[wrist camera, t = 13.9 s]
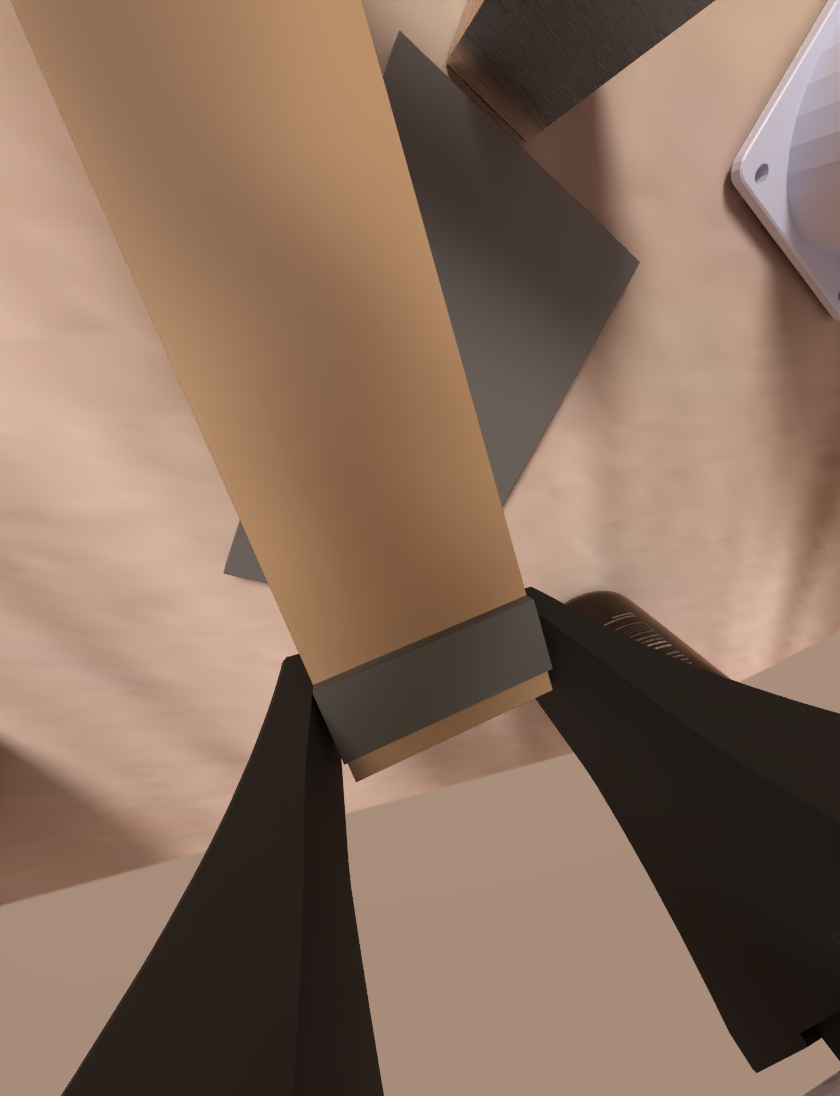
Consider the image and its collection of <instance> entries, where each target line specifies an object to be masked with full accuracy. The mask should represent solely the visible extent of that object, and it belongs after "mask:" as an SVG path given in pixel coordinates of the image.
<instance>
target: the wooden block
mask: <svg viewBox="0 0 840 1096" xmlns="http://www.w3.org/2000/svg"><path fill="white" fill-rule="evenodd" d="M10 1H11V3H12V5H13V8H14V10H15V12H16V14H17V17H18V19H19V21H20V23H21V26H22V28H23V30H24V32H25V35H26V37H27V39H28V41H29V44H30V46H31V48H32V50H33V53H34V55H35V57H36V60H37V62H38V64H39V66H40V69H41V71H42V73H43V75H44V78H45V80H46V82H47V84H48V87H49V89H50V91H51V93H52V96H53V98H54V100H55V102H56V105H57V107H58V109H59V112H60V114H61V116H62V118H63V121H64V123H65V125H66V127H67V130H68V132H69V134H70V136H71V139H72V141H73V143H74V145H75V148H76V150H77V152H78V154H79V157H80V159H81V161H82V164H83V166H84V168H85V170H86V173H87V175H88V177H89V179H90V182H91V184H92V186H93V188H94V191H95V193H96V195H97V197H98V200H99V202H100V204H101V206H102V209H103V211H104V213H105V216H106V218H107V220H108V222H109V225H110V227H111V229H112V231H113V234H114V236H115V238H116V240H117V243H118V245H119V247H120V249H121V252H122V254H123V256H124V258H125V261H126V263H127V265H128V268H129V270H130V272H131V274H132V277H133V279H134V281H135V283H136V286H137V288H138V290H139V292H140V295H141V297H142V299H143V301H144V304H145V306H146V308H147V310H148V313H149V315H150V317H151V320H152V322H153V324H154V326H155V329H156V331H157V333H158V335H159V338H160V340H161V342H162V344H163V347H164V349H165V351H166V353H167V356H168V358H169V360H170V362H171V365H172V367H173V369H174V372H175V374H176V376H177V378H178V381H179V383H180V385H181V387H182V390H183V392H184V394H185V396H186V399H187V401H188V403H189V405H190V408H191V410H192V412H193V414H194V417H195V419H196V421H197V424H198V426H199V428H200V430H201V433H202V435H203V437H204V439H205V442H206V444H207V446H208V448H209V451H210V453H211V455H212V457H213V460H214V462H215V464H216V466H217V469H218V471H219V473H220V476H221V478H222V480H223V482H224V485H225V487H226V489H227V491H228V494H229V496H230V498H231V500H232V503H233V505H234V507H235V509H236V512H237V514H238V516H239V518H240V521H241V523H242V525H243V528H244V530H245V532H246V534H247V537H248V539H249V541H250V543H251V546H252V548H253V550H254V552H255V555H256V557H257V559H258V561H259V564H260V566H261V568H262V570H263V573H264V575H265V577H266V580H267V582H268V584H269V586H270V589H271V591H272V593H273V595H274V598H275V600H276V602H277V604H278V607H279V609H280V611H281V613H282V616H283V618H284V620H285V622H286V625H287V627H288V629H289V632H290V634H291V636H292V638H293V641H294V643H295V645H296V647H297V650H298V652H299V654H300V656H301V659H302V661H303V663H304V665H305V668H306V670H307V672H308V674H309V677H310V679H311V681H312V684H313V695H314V698H315V700H316V702H317V704H318V706H319V709H320V711H321V713H322V715H323V718H324V720H325V722H326V724H327V727H328V729H329V731H330V733H331V736H332V738H333V740H334V742H335V745H336V747H337V749H338V751H339V754H340V756H341V758H342V760H343V763H344V765H345V764H347V763H348V765H349V767H350V769H351V772H352V774H353V776H354V778H355V781H356V782H358V781H360V780H362V779H364V778H366V777H368V776H370V775H373V774H375V773H377V772H379V771H381V770H383V769H385V768H387V767H390V766H392V765H394V764H396V763H398V762H400V761H402V760H404V759H407V758H409V757H411V756H413V755H415V754H417V753H419V752H421V751H424V750H426V749H428V748H430V747H432V746H434V745H436V744H438V743H441V742H443V741H445V740H447V739H449V738H451V737H453V736H456V735H458V734H460V733H462V732H464V731H466V730H468V729H470V728H473V727H475V726H477V725H479V724H481V723H483V722H485V721H487V720H490V719H492V718H494V717H496V716H498V715H500V714H502V713H504V712H507V711H509V710H511V709H513V708H515V707H517V706H519V705H522V704H524V703H526V702H528V701H530V700H532V699H534V698H536V697H539V696H541V695H543V694H545V693H547V692H549V691H551V690H553V689H552V686H551V682H550V679H549V675H548V671H549V670H551V669H553V668H552V664H551V661H550V657H549V653H548V650H547V646H546V642H545V639H544V635H543V631H542V628H541V624H540V620H539V617H538V613H537V609H536V606H535V602H534V599H532V598H530V597H529V596H527V595H526V592H525V588H524V585H523V581H522V578H521V574H520V570H519V567H518V563H517V560H516V556H515V552H514V549H513V545H512V542H511V538H510V534H509V531H508V527H507V524H506V520H505V516H504V513H503V509H502V505H501V502H500V498H499V495H498V491H497V487H496V484H495V480H494V477H493V473H492V469H491V466H490V462H489V459H488V455H487V451H486V448H485V444H484V441H483V437H482V433H481V430H480V426H479V423H478V419H477V415H476V412H475V408H474V404H473V401H472V397H471V394H470V390H469V386H468V383H467V379H466V376H465V372H464V368H463V365H462V361H461V358H460V354H459V350H458V347H457V343H456V340H455V336H454V332H453V329H452V325H451V322H450V318H449V314H448V311H447V307H446V303H445V300H444V296H443V293H442V289H441V285H440V282H439V278H438V275H437V271H436V267H435V264H434V260H433V257H432V253H431V249H430V246H429V242H428V239H427V235H426V231H425V228H424V224H423V220H422V217H421V213H420V210H419V206H418V202H417V199H416V195H415V192H414V188H413V184H412V181H411V177H410V174H409V170H408V166H407V163H406V159H405V156H404V152H403V148H402V145H401V141H400V138H399V134H398V130H397V127H396V123H395V119H394V116H393V112H392V109H391V105H390V101H389V98H388V94H387V91H386V87H385V83H384V80H383V76H382V73H381V69H380V65H379V62H378V58H377V55H376V51H375V47H374V44H373V40H372V37H371V33H370V29H369V26H368V22H367V18H366V15H365V11H364V8H363V4H362V0H10Z"/></svg>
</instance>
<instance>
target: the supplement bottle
mask: <svg viewBox="0 0 840 1096" xmlns="http://www.w3.org/2000/svg"><path fill="white" fill-rule="evenodd" d="M565 605H567V606H569V607H571V608H573V609H575V610H576V611H578V612H580V613H582V614H584V615H586V616H588V617H590V618H592V619H594V620H595V621H597V622H599V623H601V624H603V625H605V626H607V627H609V628H611V629H613V630H615V631H617V632H619V633H621V634H623V635H626V636H628V637H630V638H632V639H634V640H636V641H638V642H640V643H643V644H645V645H647V646H649V647H651V648H654V649H656V650H658V651H660V652H663V653H665V654H667V655H669V656H672V657H674V658H677V659H679V660H681V661H684V662H686V663H689V664H691V665H694V666H696V667H699V668H702V669H704V670H707V671H709V672H712V673H715V674H717V675H720V676H722V677H725V678H728V679H730V678H729V677H727V676H726V675H725V674H724V673H722V672H721V671H720V670H719V669H717V668H716V667H715V666H714V665H712V664H711V663H710V662H708V661H707V660H706V659H705V658H703V657H702V656H701V655H700V654H698V653H697V652H696V651H695V650H693V649H692V648H691V647H689V646H688V645H687V644H686V643H684V642H683V641H682V640H681V639H679V638H678V637H677V636H676V635H674V634H673V633H672V632H671V631H669V630H668V629H667V628H665V627H664V626H663V625H662V624H660V623H659V622H658V621H657V620H655V619H654V618H653V617H652V616H650V615H649V614H648V613H647V612H645V611H644V610H643V609H641V608H640V607H639V606H637V605H636V604H635V603H633V602H632V601H631V600H630V599H628V598H627V597H625V596H623V595H621V594H618V593H615V592H610V591H596V592H591V593H587V594H583V595H581V596H578V597H576V598H574V599H572V600H570V601H568V602H566V603H565Z"/></svg>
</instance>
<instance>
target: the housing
mask: <svg viewBox="0 0 840 1096" xmlns="http://www.w3.org/2000/svg"><path fill="white" fill-rule="evenodd" d="M713 1H715V0H468V2H467V5H466V8H465V11H464V13H463V16H462V19H461V22H460V24H459V27H458V30H457V33H456V36H455V38H454V41H453V44H452V47H451V49H450V52H449V55H448V58H447V60H446V63H447V64H448V65H449V66H450V67H451V68H452V69H453V70H454V71H455V72H456V73H457V74H458V75H459V76H460V77H461V78H462V79H463V80H464V81H465V82H466V83H467V84H468V85H469V86H470V87H471V88H472V89H473V90H474V91H475V92H476V93H477V94H478V95H479V96H480V97H481V98H483V99H484V100H485V101H486V102H487V103H488V104H489V105H490V106H491V107H492V108H493V109H494V110H495V111H496V112H497V113H498V114H499V115H500V116H501V117H502V118H503V119H504V120H505V121H506V122H507V123H508V124H509V125H510V126H511V127H512V128H513V129H514V130H515V131H516V132H517V133H518V134H519V135H520V136H521V137H522V138H523V139H524V140H525V141H526V142H527V141H528V140H530V139H531V138H532V137H534V136H535V135H536V134H538V133H539V132H540V131H542V130H543V129H544V128H546V127H547V126H548V125H550V124H551V123H552V122H554V121H555V120H556V119H558V118H559V117H560V116H562V115H563V114H564V113H566V112H567V111H568V110H570V109H571V108H572V107H574V106H575V105H576V104H578V103H579V102H580V101H582V100H583V99H584V98H586V97H587V96H588V95H590V94H591V93H592V92H594V91H595V90H596V89H598V88H599V87H600V86H602V85H603V84H604V83H606V82H607V81H608V80H610V79H611V78H612V77H614V76H615V75H616V74H618V73H619V72H620V71H622V70H623V69H624V68H626V67H627V66H628V65H630V64H631V63H632V62H634V61H635V60H636V59H638V58H639V57H640V56H642V55H643V54H644V53H646V52H647V51H648V50H650V49H651V48H652V47H654V46H655V45H656V44H658V43H659V42H660V41H662V40H663V39H664V38H666V37H667V36H668V35H669V34H671V33H672V32H673V31H675V30H676V29H677V28H679V27H680V26H681V25H683V24H684V23H685V22H687V21H688V20H689V19H691V18H692V17H693V16H695V15H696V14H697V13H699V12H700V11H701V10H703V9H704V8H705V7H707V6H708V5H709V4H711V3H712V2H713Z"/></svg>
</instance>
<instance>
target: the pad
mask: <svg viewBox="0 0 840 1096" xmlns="http://www.w3.org/2000/svg"><path fill="white" fill-rule="evenodd" d="M383 80H384V83H385V87H386V91H387V94H388V98H389V101H390V105H391V109H392V112H393V116H394V119H395V123H396V127H397V130H398V134H399V138H400V141H401V145H402V148H403V152H404V156H405V159H406V163H407V166H408V170H409V174H410V177H411V181H412V184H413V188H414V192H415V195H416V199H417V202H418V206H419V210H420V213H421V217H422V220H423V224H424V228H425V231H426V235H427V239H428V242H429V246H430V249H431V253H432V257H433V260H434V264H435V267H436V271H437V275H438V278H439V282H440V285H441V289H442V293H443V296H444V300H445V303H446V307H447V311H448V314H449V318H450V322H451V325H452V329H453V332H454V336H455V340H456V343H457V347H458V350H459V354H460V358H461V361H462V365H463V368H464V372H465V376H466V379H467V383H468V386H469V390H470V394H471V397H472V401H473V404H474V408H475V412H476V415H477V419H478V423H479V426H480V430H481V433H482V437H483V441H484V444H485V448H486V451H487V455H488V459H489V462H490V466H491V469H492V473H493V477H494V480H495V484H496V487H497V491H498V495H499V498H500V502H501V505H502V506H503V504H504V502H505V500H506V499H507V497H508V495H509V493H510V492H511V490H512V488H513V486H514V484H515V483H516V481H517V479H518V477H519V476H520V474H521V472H522V470H523V469H524V467H525V465H526V463H527V461H528V460H529V458H530V456H531V454H532V453H533V451H534V449H535V447H536V446H537V444H538V442H539V440H540V438H541V437H542V435H543V433H544V431H545V430H546V428H547V426H548V424H549V422H550V421H551V419H552V417H553V415H554V414H555V412H556V410H557V408H558V407H559V405H560V403H561V401H562V399H563V398H564V396H565V394H566V392H567V391H568V389H569V387H570V385H571V384H572V382H573V380H574V378H575V376H576V375H577V373H578V371H579V369H580V368H581V366H582V364H583V362H584V360H585V359H586V357H587V355H588V353H589V352H590V350H591V348H592V346H593V345H594V343H595V341H596V339H597V337H598V336H599V334H600V332H601V330H602V329H603V327H604V325H605V323H606V321H607V320H608V318H609V316H610V314H611V313H612V311H613V309H614V307H615V306H616V304H617V302H618V300H619V298H620V297H621V295H622V293H623V291H624V290H625V288H626V286H627V284H628V283H629V281H630V279H631V277H632V275H633V274H634V272H635V270H636V268H637V267H638V265H639V263H640V262H639V261H638V260H637V259H636V258H635V257H634V256H633V255H632V254H631V253H630V252H629V251H628V250H627V249H626V248H625V247H624V246H623V245H622V244H621V243H620V242H619V241H617V240H616V239H615V238H614V237H613V236H612V235H611V234H610V233H609V232H608V231H607V230H606V229H605V228H604V227H603V226H602V225H601V224H600V223H599V222H598V221H597V220H596V219H595V218H594V217H593V216H592V215H590V214H589V213H588V212H587V211H586V210H585V209H584V208H583V207H582V206H581V205H580V204H579V203H578V202H577V201H576V200H575V199H574V198H573V197H572V196H571V195H570V194H569V193H568V192H567V191H566V190H565V189H563V188H562V187H561V186H560V185H559V184H558V183H557V182H556V181H555V180H554V179H553V178H552V177H551V176H550V175H549V174H548V173H547V172H546V171H545V170H544V169H543V168H542V167H541V166H540V165H539V164H538V163H537V162H535V161H534V160H533V159H532V158H531V157H530V156H529V155H528V154H527V153H526V152H525V151H524V150H523V149H522V148H521V147H520V146H519V145H518V144H517V143H516V142H515V141H514V140H513V139H512V138H511V137H510V136H508V135H507V134H506V133H505V132H504V131H503V130H502V129H501V128H500V127H499V126H498V125H497V124H496V123H495V122H494V121H493V120H492V119H491V118H490V117H489V116H488V115H487V114H486V113H485V112H484V111H483V110H481V109H480V108H479V107H478V106H477V105H476V104H475V103H474V102H473V101H472V100H471V99H470V98H469V97H468V96H467V95H466V94H465V93H464V92H463V91H462V90H461V89H460V88H459V87H458V86H457V85H456V84H455V83H453V82H452V81H451V80H450V79H449V78H448V77H447V76H446V75H445V74H444V73H443V72H442V71H441V70H440V69H439V68H438V67H437V66H436V65H435V64H434V63H433V62H432V61H431V60H430V59H429V58H428V57H426V56H425V55H424V54H423V53H422V52H421V51H420V50H419V49H418V48H417V47H416V46H415V45H414V44H413V43H412V42H411V41H410V40H409V39H408V38H407V37H406V36H405V35H404V34H403V33H402V32H401V31H399V33H398V36H397V38H396V41H395V43H394V46H393V49H392V52H391V55H390V58H389V61H388V64H387V67H386V70H385V73H384V77H383ZM224 574H228V575H233V576H238V577H242V578H247V579H251V580H256V581H261V582H265V583H268V582H267V580H266V577H265V575H264V573H263V570H262V568H261V566H260V564H259V561H258V559H257V557H256V555H255V552H254V550H253V548H252V546H251V543H250V541H249V539H248V537H247V534H246V532H245V530H244V528H243V525H242V523H241V521H240V522H239V525H238V528H237V531H236V534H235V537H234V540H233V543H232V546H231V549H230V552H229V556H228V559H227V562H226V565H225V569H224Z"/></svg>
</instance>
